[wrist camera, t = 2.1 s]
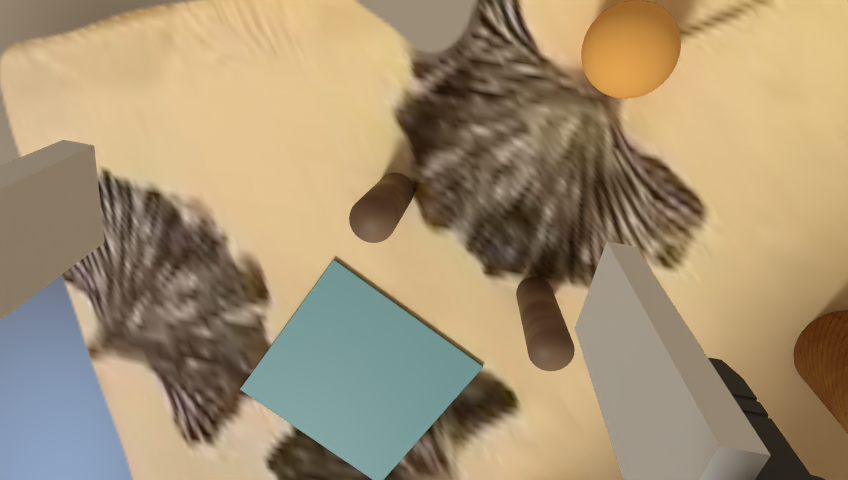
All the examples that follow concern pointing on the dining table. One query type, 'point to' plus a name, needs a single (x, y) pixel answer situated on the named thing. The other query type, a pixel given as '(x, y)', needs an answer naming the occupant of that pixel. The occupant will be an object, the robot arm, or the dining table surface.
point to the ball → (631, 49)
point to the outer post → (381, 208)
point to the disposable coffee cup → (826, 362)
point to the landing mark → (359, 373)
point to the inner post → (544, 325)
